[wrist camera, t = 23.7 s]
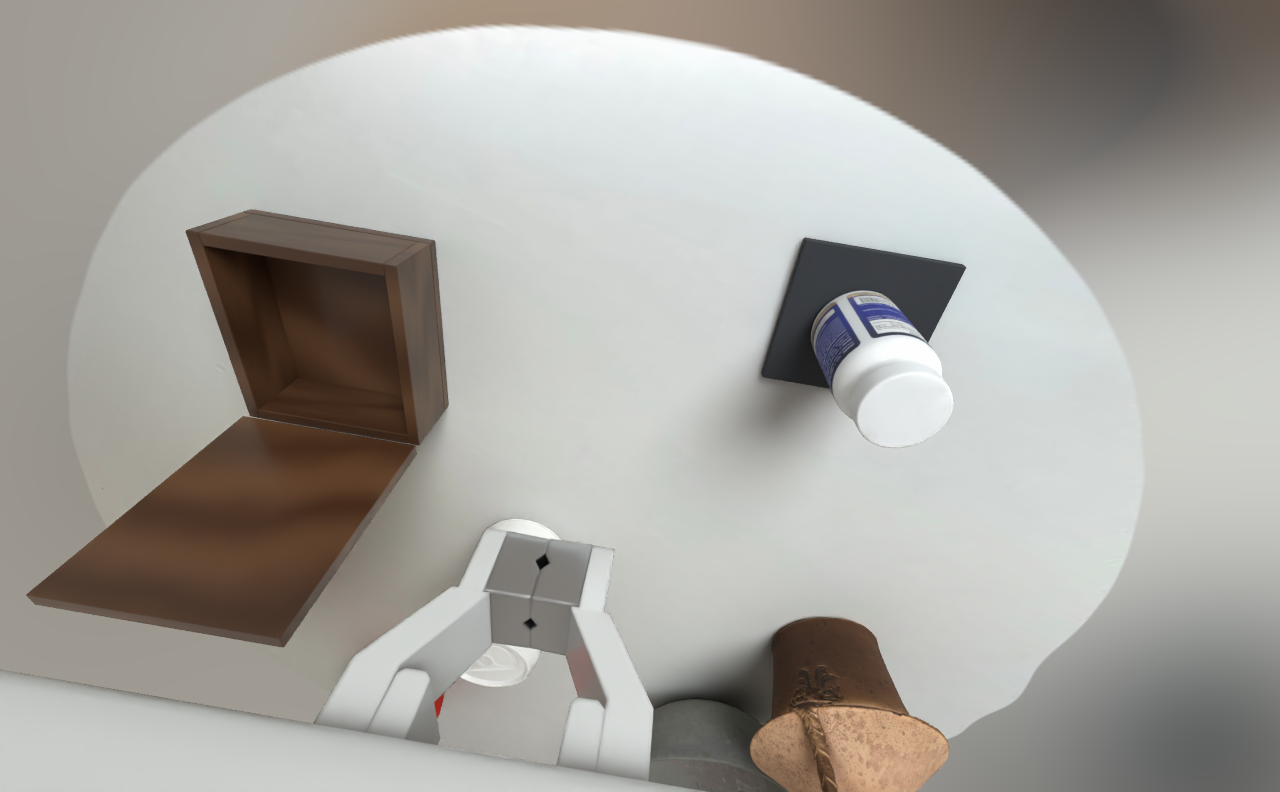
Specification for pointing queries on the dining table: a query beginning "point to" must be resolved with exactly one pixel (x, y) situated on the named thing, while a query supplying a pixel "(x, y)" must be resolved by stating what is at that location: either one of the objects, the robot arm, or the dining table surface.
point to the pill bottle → (881, 370)
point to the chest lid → (235, 534)
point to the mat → (843, 270)
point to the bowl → (706, 748)
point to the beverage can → (503, 660)
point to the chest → (328, 322)
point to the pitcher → (841, 716)
